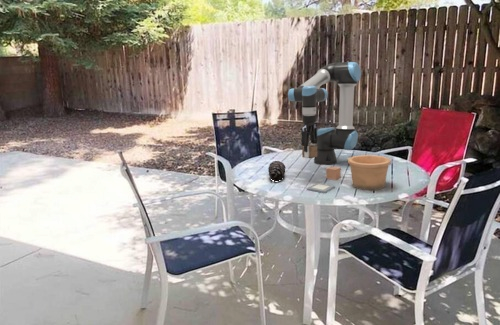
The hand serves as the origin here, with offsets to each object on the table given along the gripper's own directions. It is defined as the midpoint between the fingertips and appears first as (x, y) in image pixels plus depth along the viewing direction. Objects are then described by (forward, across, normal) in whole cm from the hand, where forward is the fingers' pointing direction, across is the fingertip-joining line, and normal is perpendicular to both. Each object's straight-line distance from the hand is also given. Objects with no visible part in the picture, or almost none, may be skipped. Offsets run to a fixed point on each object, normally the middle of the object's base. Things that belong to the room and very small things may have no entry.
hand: (309, 156), depth 228 cm
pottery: (+15, +10, -30) cm, 35 cm away
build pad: (+15, -9, -12) cm, 21 cm away
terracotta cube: (+15, +13, -8) cm, 21 cm away
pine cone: (+15, -4, +19) cm, 25 cm away
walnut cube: (0, 0, 0) cm, 0 cm away
